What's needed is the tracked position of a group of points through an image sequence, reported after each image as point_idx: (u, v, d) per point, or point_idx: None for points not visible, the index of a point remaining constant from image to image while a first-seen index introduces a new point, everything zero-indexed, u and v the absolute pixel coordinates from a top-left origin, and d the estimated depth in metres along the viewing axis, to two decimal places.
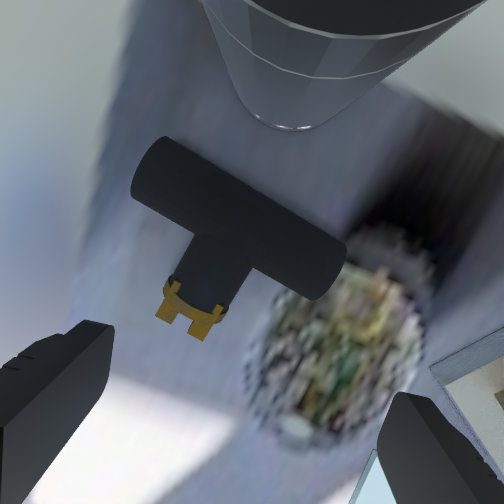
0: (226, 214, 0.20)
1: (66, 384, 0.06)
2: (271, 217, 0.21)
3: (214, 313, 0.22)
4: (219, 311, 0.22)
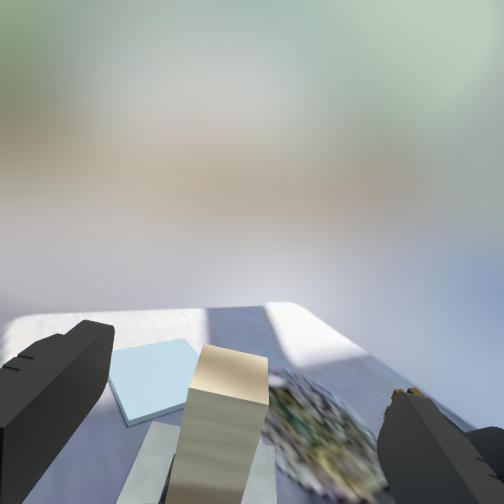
0: (482, 445, 0.34)
1: (66, 384, 0.06)
2: None
3: None
4: None
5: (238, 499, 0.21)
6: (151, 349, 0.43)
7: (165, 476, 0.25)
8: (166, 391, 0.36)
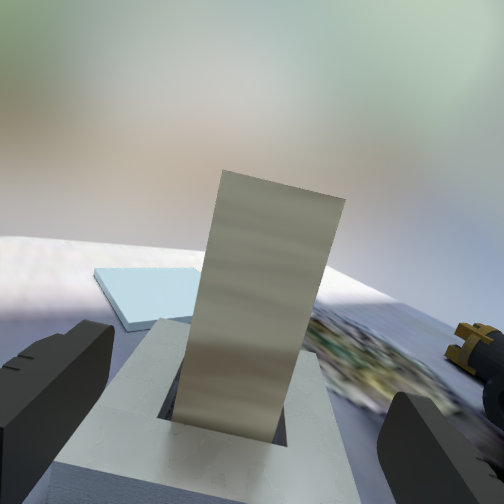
0: None
1: (65, 384, 0.06)
2: None
3: (485, 335, 0.30)
4: (487, 337, 0.30)
5: (289, 366, 0.14)
6: (155, 271, 0.36)
7: (178, 365, 0.18)
8: (174, 304, 0.29)
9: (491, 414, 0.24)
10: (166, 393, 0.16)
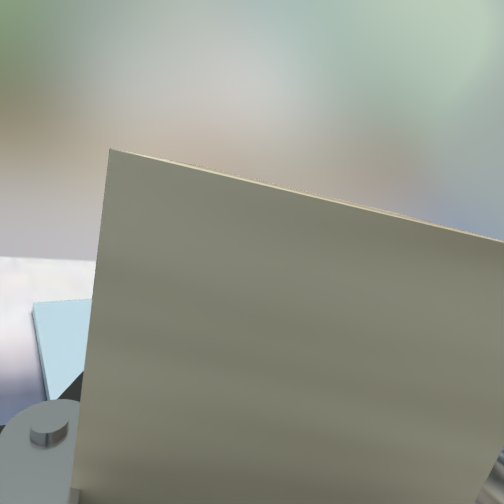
0: None
1: None
2: None
3: None
4: None
5: None
6: None
7: None
8: None
9: None
10: None
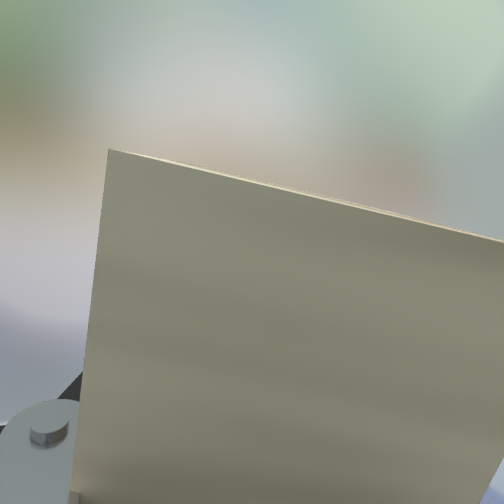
0: None
1: None
2: None
3: None
4: None
5: None
6: None
7: None
8: None
9: None
10: None
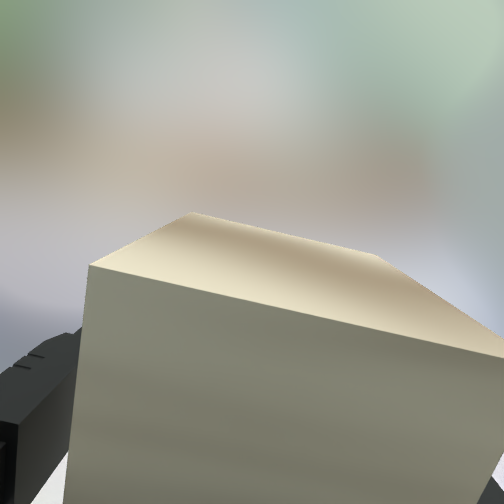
0: None
1: (75, 382, 0.06)
2: None
3: None
4: None
5: None
6: None
7: None
8: None
9: None
10: None
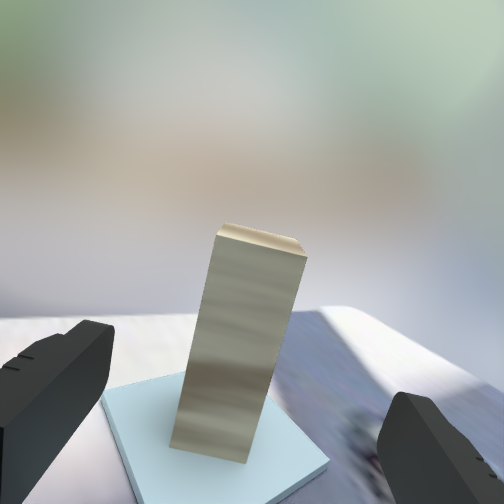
0: None
1: (65, 384, 0.06)
2: None
3: None
4: None
5: (267, 379, 0.18)
6: None
7: None
8: (230, 475, 0.19)
9: None
10: None
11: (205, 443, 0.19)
